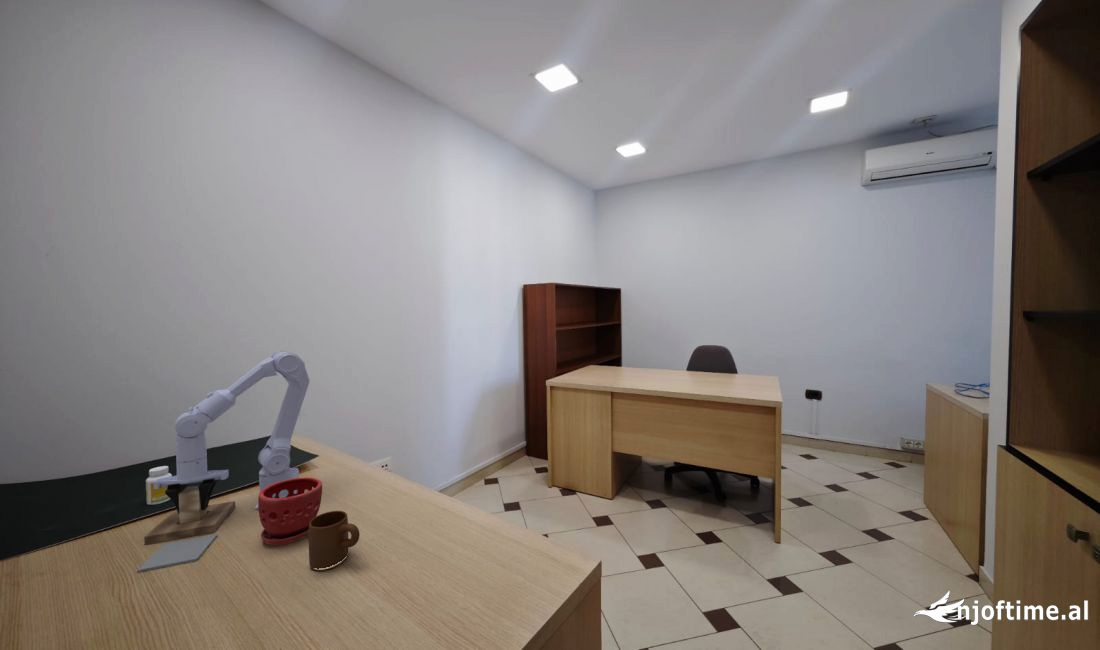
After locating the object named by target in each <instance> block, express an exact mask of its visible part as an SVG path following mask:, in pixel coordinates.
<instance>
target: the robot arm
mask: <svg viewBox="0 0 1100 650" xmlns="http://www.w3.org/2000/svg"><path fill="white" fill-rule="evenodd" d="M278 373H279V374H280V375H281V376H282V378H284V380H285V381H286V383H287V384H288V386H287V389H286V391H285V394H284V397H283V401H282V403H281V406H280V409H279V411H278V415H277V418H276V421H275V424H274V427H273V429H272V433H271V436H270V437H269V438H268V440H267V441H266V444H265V446H264V447H263V448H262V450H260V452H259V453H258V456H257V457H258V458H257V460H258V462H259V464H260V465H261V466H262V467H261V469H260V470H259V472H258V479H259V482H258V484H259V493H260V492H261V490H263V489H264V488H266V487H268V486H270V485H272V484H274V483H277V482H281V481H284V480H288V479H294V478H300V470H299V468H298V467H290V464H291V456H290V453H291V449H292V447H291V446H292V445H291V443H292V442H291V439H292V437H293V434H294V430H295V426H296V424H297V422H298V418H299V415H300V412H301V409H302V407H303V406H302V405H303V403H304V399H305V397H306V394H307V391H308V387H309V384H310V378H309V375H308V371H307V369H306V365H305V361H304V360H303V359H302V358H301V357H300V356H299V355H298V354H297V353H294V352H289V351H286V350H279V351H276V352H274V353H273V354H272V355H271V356H268V357H267V358H265V359H263V360H262V361H260V362H259V363H258V364H256V365H255V366H254V367H253V368H251V369H250V370H249V371H248V372H246V373H245V374H244V375H243V376H241V377H240V378H239V379H237V380H236V381H235V382H234V383H232V384H231V385H230V386H229V387H227V388H226V389H217V390H215V391H214V392H213V391H210V392H208V393H207V394H206V398H204V399H203V400H202V401H200V402H199V403H198V404H196V405H195V406H194V407H193V406H190V407H188V409H187V410H188V412H184V413H182V414H180V415H179V416H178V417H177V418H176V420H175V422H174V424H173V426H174V429H175V432H176V433H177V434H176V437H175V440H176V443H175V453H176V454H175V456H176V458H175V459H176V462H175V463H176V475H172V476H171V477H166V478H160V479H157V480H156V481H154V489H159V488H161V487H168V488H167V490H166V491H165V494H166V495H167V496H168V497H169V498H170V500H171V502H172V504H174V507H175V509H176V510H177V511H178V514H179V493H180V492H182V491H183V490H184V489H185V488H187V487H188V484H194V483H195V484H196V483H200V484H199V485H197V486H198V489H199V492H200V497H201V510H205V509H206V508H207V507H208V505H210V504H209V503H210V498H211V496H212V493H213V491H214V489H215V486H216V484H217V483H218V481H219V480H221V481H223V480H226V479H228V478H229V476H230V475H229V473H230V472H229V469H220V470H219V469H218V470H213V469H212V470H208V456H207V455H208V454H207V438H206V434H205V431H206V430H207V428H208V424H210V423H213V422H215V420H217V419H219V418H220V417H221V416H223V414H225V413H226V412H227V411H228V410H230V409H232V408H233V406H235V405H236V403H237V401H236V400H237V398H238V397H239V396H240V395H242V394H243V393H245V392H246V391H247V390H249V389H250V388H251V387H253V386H254V385H256V384H257V383H258V382H260V381H261V380H262V379H264V378H269V377H276V376H278ZM297 492H298V491H297V490H294V493H295V494H296V493H297ZM287 495H288V491H287V490H282V491H281V492H280V493H279V497H280V498H284V497H286V496H287ZM275 496H276V494H273V496H272V497H273V498H274V497H275ZM253 509H254V510H258V502H257V503H256V505H255V506H254V508H253Z"/></svg>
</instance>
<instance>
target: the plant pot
mask: <svg viewBox="0 0 1100 650" xmlns="http://www.w3.org/2000/svg"><path fill="white" fill-rule="evenodd" d="M282 490H287V491H288V495H287V496H286V497H284V498H280V497H279V493H280V492H281V491H282ZM294 490H297V491H298V492H297V493H296V494H295V493H294ZM306 490H307V491H306ZM305 491H306V492H305ZM273 494H276V496H275V497H274V498H273V497H272V496H273ZM322 495H323V482H322V481H321V480H320V479H318V478H315V477H299V478H294V479H288V480H284V481H281V482H277V483H274V484H272V485H270V486H268V487H266V488H264V489H263V490H261V492H260V491H259V494H258V500H257V503H258V509H257V510H258V516H259V520H260V523H261V526H262V528H263V530H262V531H261V533H260V539H261V540H262V541H263V542H264V543H266V544H267V545H276V546H277V545H278V546H279V545H286V544H287V545H288V544H290V543H294V542H296V541H299V540H301V539H304V538H305V537H306V536H308V531H309V523H310V521H311V520H312V519H313V518H315V517H316V516H318V515H319V514H318V513H319V511H320V508H321V503H322Z"/></svg>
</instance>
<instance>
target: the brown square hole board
mask: <svg viewBox="0 0 1100 650" xmlns="http://www.w3.org/2000/svg"><path fill="white" fill-rule="evenodd" d="M235 509H236V501H234V500H233V501H227V502H220V503H215V504H208V507H207V515H206V516H205V517H204V518H203V519H202V520H200V521H194V522H188V523H182V524H180V518H179V514H178V511H177V509H176V510H173V511H172V512H171V513H170V514H168V516H166V517H165V518H164V519H163V520H162V521H160V523H159V524H157V525H156V526H155V527H154V528H153V529H151V530H150V531H149V532H148V533H147V534H146V535H145V536H144V537H143V539H144V541H143V542H144V546H148V545H153V544H160V543H163V542H164V543H165V542H170V541H175V540H181V539H186V538H192V537H197V536H203V535H207V534H209V535H210V534H215V532H216V531H217V530H218V529H219V528H220V527H221V526H222V524H223V523H224V522H225V521H226V520H227V519H228V518H229V516H230V513H231V514H232V513H233V511H235ZM225 519H226V520H225ZM224 520H225V521H224Z"/></svg>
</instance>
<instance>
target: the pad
mask: <svg viewBox="0 0 1100 650" xmlns="http://www.w3.org/2000/svg"><path fill="white" fill-rule="evenodd" d="M217 538H218V534H212V535H206V536H201V537H197V538H191V539H185V540H178V541H174V542H168V543H164V544H163V545H162V546H161V547H159V549H157V550H156V551H155V552H154V553H153V554H152V555H151V556H150V557H149V558H148V559H147V560H146V561H145V562H144V563H143V564H142V565H140V567H139V568H138V569H136V570H137V571H136V572H137V573H142V572H143V573H144V572H147V571H153V570H157V569H161V568H167V567H172V566H178V565H182V564H187V563H193V562H198V560H200V558H201V557H202V556H203V554H204V553H205V552H206V549H209V548H210V546H211V545H212V543H213V542H214V541H215V540H216V539H217Z"/></svg>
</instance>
